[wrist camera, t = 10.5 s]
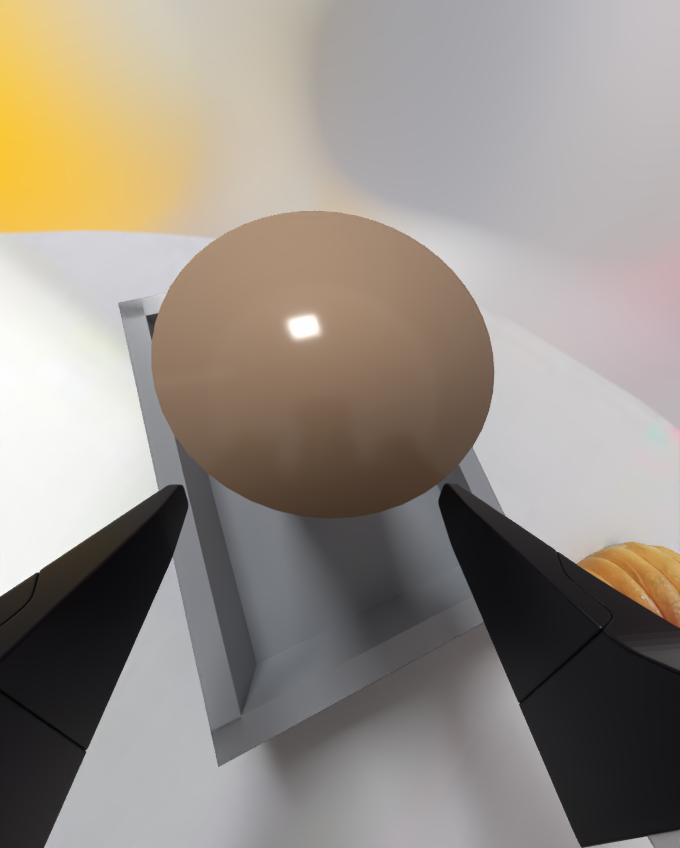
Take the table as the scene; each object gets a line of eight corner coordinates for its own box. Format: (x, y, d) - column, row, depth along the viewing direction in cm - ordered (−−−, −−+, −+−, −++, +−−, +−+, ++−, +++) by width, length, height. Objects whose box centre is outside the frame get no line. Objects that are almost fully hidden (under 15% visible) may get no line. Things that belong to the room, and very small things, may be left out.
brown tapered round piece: (357, 510, 17) (495, 547, 4) (255, 493, 16) (88, 482, 4) (370, 414, 19) (493, 247, 6) (278, 397, 18) (212, 182, 6)
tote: (484, 567, 18) (541, 590, 14) (244, 687, 15) (218, 766, 10) (364, 297, 22) (377, 249, 18) (161, 346, 19) (118, 302, 15)
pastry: (564, 673, 17) (634, 721, 13) (528, 558, 19) (582, 573, 15) (681, 637, 18) (774, 672, 15) (638, 533, 20) (712, 541, 16)
